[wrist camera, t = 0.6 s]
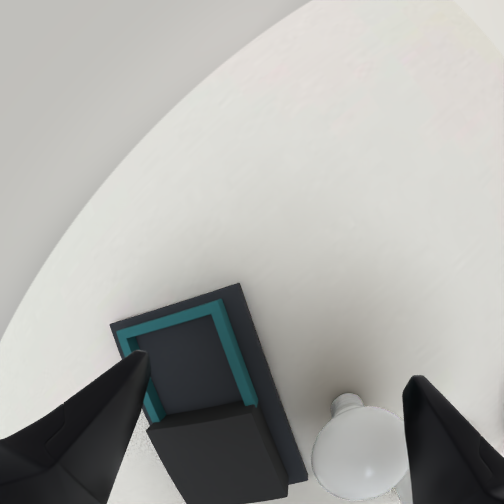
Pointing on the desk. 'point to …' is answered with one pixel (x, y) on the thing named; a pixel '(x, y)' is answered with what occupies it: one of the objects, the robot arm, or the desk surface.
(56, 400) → the desk surface
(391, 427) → the lightbulb
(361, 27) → the desk surface
